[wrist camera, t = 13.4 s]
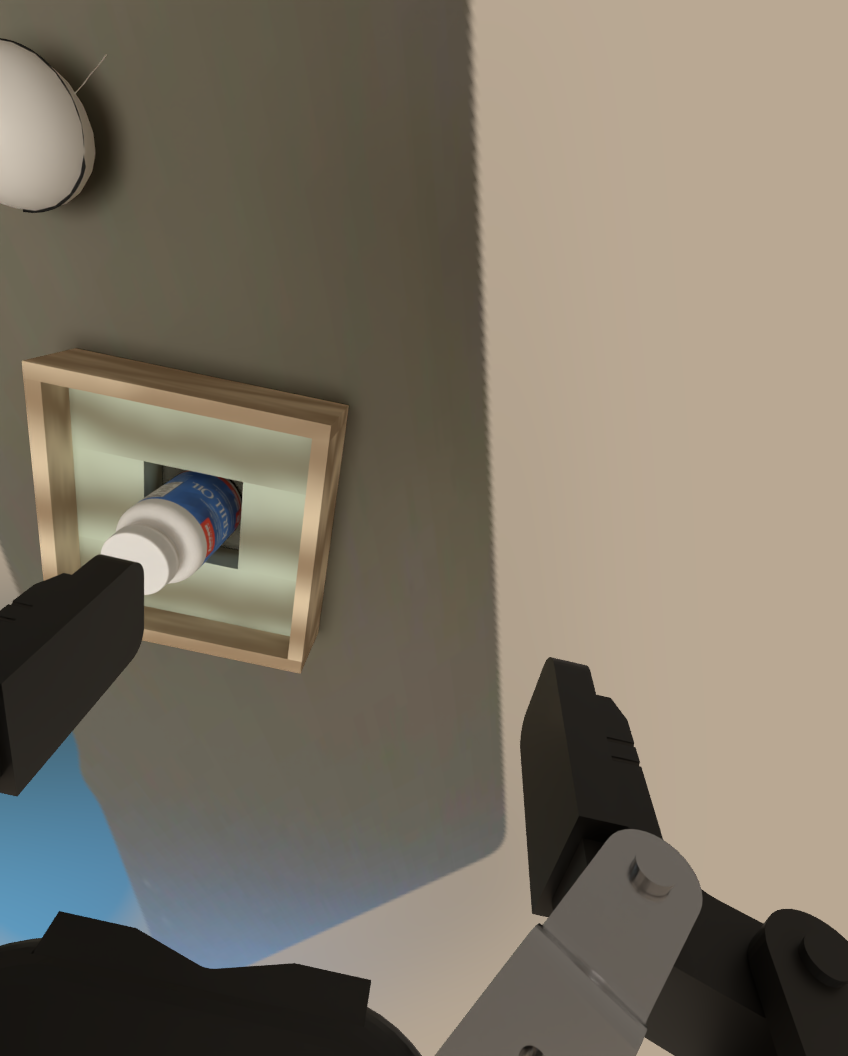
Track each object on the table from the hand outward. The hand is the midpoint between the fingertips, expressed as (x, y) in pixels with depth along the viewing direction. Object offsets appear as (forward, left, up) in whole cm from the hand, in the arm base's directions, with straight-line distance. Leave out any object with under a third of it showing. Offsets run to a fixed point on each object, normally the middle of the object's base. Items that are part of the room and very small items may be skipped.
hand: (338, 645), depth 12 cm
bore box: (+12, -14, -28) cm, 34 cm away
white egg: (-9, -22, -29) cm, 37 cm away
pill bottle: (+12, -14, -29) cm, 34 cm away
